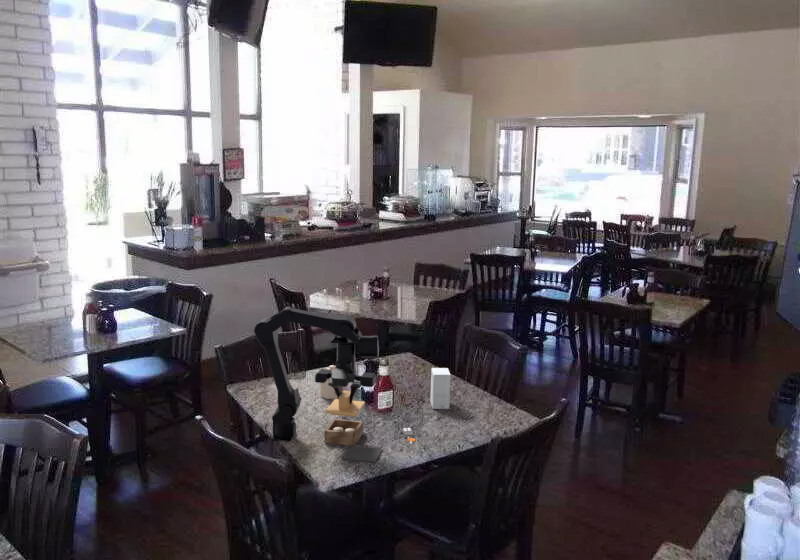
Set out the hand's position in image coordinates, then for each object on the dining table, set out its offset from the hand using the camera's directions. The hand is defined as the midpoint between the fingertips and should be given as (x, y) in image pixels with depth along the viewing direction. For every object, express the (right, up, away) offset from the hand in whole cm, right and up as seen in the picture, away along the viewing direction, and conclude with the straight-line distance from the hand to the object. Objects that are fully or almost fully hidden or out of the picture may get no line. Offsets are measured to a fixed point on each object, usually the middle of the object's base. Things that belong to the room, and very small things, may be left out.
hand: (345, 403), depth 214 cm
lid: (0, -3, +1) cm, 3 cm away
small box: (+32, -7, +33) cm, 46 cm away
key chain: (+21, -13, +4) cm, 24 cm away
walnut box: (-1, -12, +3) cm, 12 cm away
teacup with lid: (-8, -4, +42) cm, 43 cm away
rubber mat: (+6, -14, -9) cm, 18 cm away
